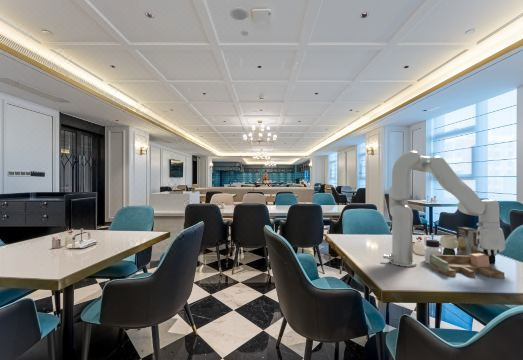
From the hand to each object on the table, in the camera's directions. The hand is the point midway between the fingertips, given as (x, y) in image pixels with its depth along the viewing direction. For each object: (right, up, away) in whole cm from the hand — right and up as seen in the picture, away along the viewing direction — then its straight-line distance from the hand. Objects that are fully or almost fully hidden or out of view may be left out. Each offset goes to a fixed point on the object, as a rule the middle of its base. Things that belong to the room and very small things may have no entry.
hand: (490, 263), depth 123 cm
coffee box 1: (+12, -5, +28) cm, 31 cm away
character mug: (-6, -5, +20) cm, 21 cm away
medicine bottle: (-18, -4, +14) cm, 24 cm away
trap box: (-13, -4, -1) cm, 14 cm away
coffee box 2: (+9, -4, +15) cm, 18 cm away
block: (-5, -1, +1) cm, 5 cm away
